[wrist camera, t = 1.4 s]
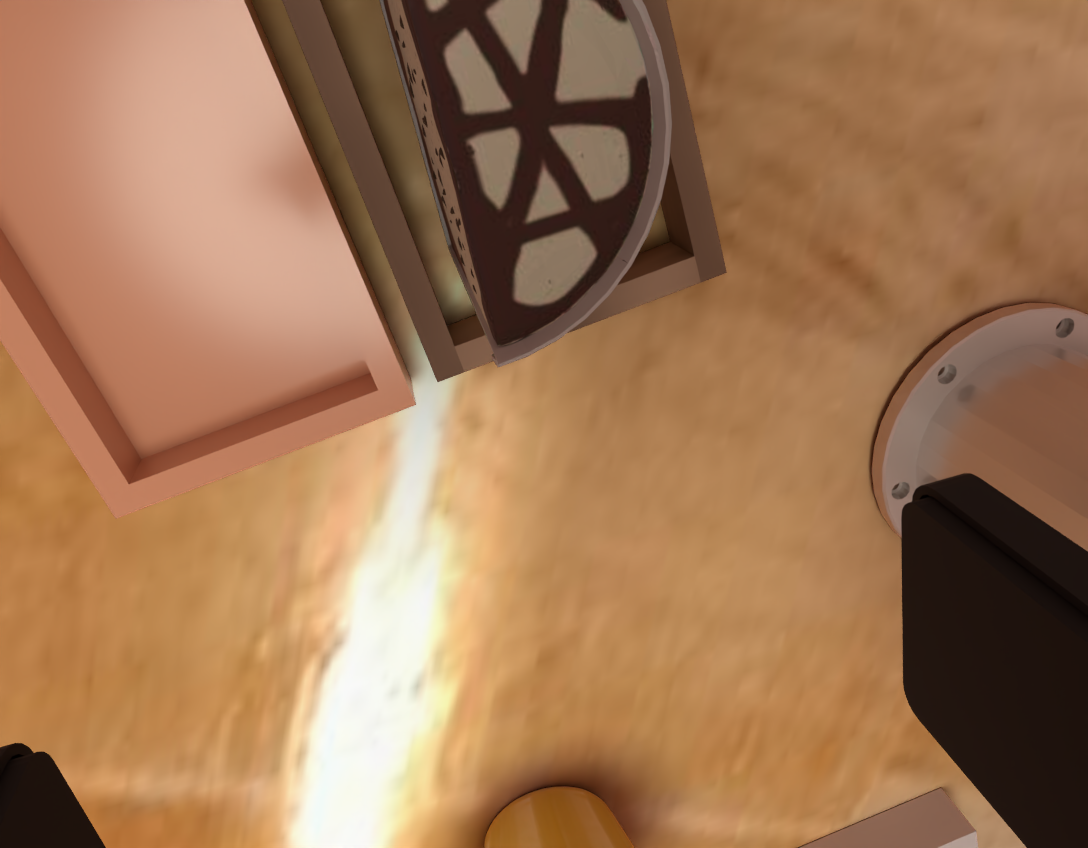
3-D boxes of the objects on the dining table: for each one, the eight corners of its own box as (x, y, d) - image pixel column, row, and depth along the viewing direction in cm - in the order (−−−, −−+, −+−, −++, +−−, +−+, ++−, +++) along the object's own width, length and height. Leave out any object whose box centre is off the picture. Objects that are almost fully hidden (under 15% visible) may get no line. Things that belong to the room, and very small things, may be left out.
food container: (618, 244, 32) (723, 320, 23) (459, 289, 32) (504, 385, 23) (546, -137, 27) (646, -230, 18) (353, -92, 26) (356, -164, 17)
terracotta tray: (197, -128, 25) (182, -145, 23) (411, 380, 33) (416, 404, 30) (-174, -3, 24) (-226, -9, 22) (132, 485, 32) (115, 518, 30)
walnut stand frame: (584, -237, 26) (607, -264, 24) (700, 257, 33) (726, 272, 31) (237, -120, 25) (226, -136, 23) (431, 358, 32) (437, 381, 30)
